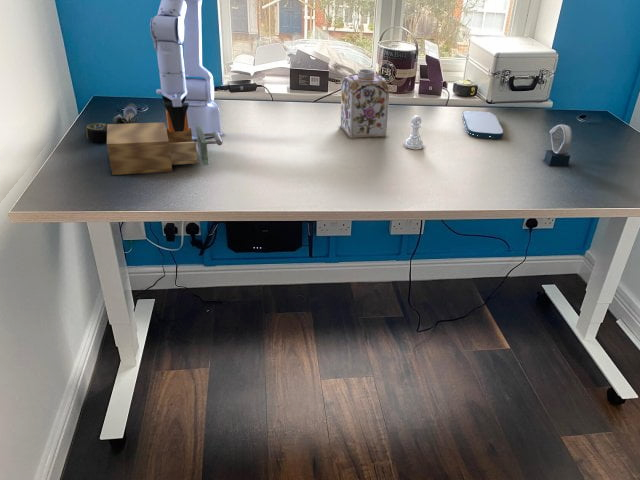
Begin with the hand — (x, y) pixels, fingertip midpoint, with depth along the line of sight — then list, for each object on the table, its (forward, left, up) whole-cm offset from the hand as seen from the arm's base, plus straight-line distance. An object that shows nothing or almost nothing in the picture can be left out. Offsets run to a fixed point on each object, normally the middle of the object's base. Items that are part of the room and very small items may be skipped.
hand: (178, 127), depth 149 cm
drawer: (-2, +1, -7) cm, 8 cm away
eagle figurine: (+1, -29, -9) cm, 30 cm away
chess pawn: (-60, +25, -9) cm, 66 cm away
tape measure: (+10, -24, -9) cm, 28 cm away
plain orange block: (0, 0, 0) cm, 0 cm away
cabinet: (+9, -4, -8) cm, 13 cm away
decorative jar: (-56, +7, -9) cm, 57 cm away
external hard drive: (-93, +24, -9) cm, 97 cm away
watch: (-86, +57, -9) cm, 104 cm away
